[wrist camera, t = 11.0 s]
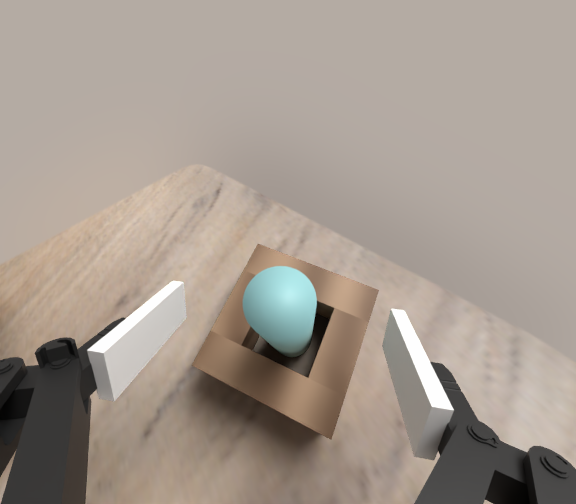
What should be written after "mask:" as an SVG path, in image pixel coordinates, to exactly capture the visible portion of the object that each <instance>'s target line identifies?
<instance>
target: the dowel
mask: <svg viewBox="0 0 576 504" xmlns="http://www.w3.org/2000/svg"><path fill="white" fill-rule="evenodd" d="M316 306H317V298H316V292H315V289H314V287H313V285H312V283H311V281H310V280H309V279H308V278H307V277H306V276H305V275H304V274H303V273H302V272H300V271H298V270H296V269H294V268H291V267H287V266H275V267H270V268H267V269H265V270H263V271H261V272H260V273H258V274H257V275H256V276H255V277H254V278H253V279H252V280H251V281H250V282H249V284H248V285H247V287H246V290H245V292H244V296H243V312H244V315H245V318H246V320H247V322H248V323H249V325H250V326H251V327H252V328H253V329H254V330H255V331H256V332H257V333H258V334H259V335H260V336H261V337H263V338H264V339H265V340H266V341H267V342H268V343H269V344H270V345H272V346H273V347H274V348H275V349H276V350H277V351H278V352H280V353H281V354H282V355H284V356H288V357H296V356H299V355H301V354H303V353H304V352H305V351H306V350H307V349H308V347H309V345H310V343H311V338H312V332H313V325H314V319H315V313H316Z"/></svg>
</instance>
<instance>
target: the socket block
mask: <svg viewBox="0 0 576 504" xmlns="http://www.w3.org/2000/svg"><path fill="white" fill-rule="evenodd" d="M275 266H287V267H291V268H294V269H296V270H298V271H300V272H302V273H303V274H304V275H305V276H306V277H307V278H308V279H309V280H310V281H311V283H312V285H313V287H314V289H315V292H316V298H317V306H316V313H317V314H319V315H321V316H324V317H326V318H329V319H330V320H329V323H328V325H327V328H326V331H325V333H324V336H323V339H322V341H321V344H320V347H319V349H318V352H317V355H316V357H315V360H314V363H313V365H312V368H311V370H310V373H309V376H308V378H307V377H305V376H303V375H301V374H299V373H297V372H295V371H293V370H291V369H289V368H287V367H285V366H283V365H281V364H279V363H277V362H275V361H273V360H271V359H269V358H266V357H264V356H262V355H260V354H258V353H256V352H254V351H252V350H253V348H254V346H255V344H256V342H257V339H258V337H259V334H258V333H257V332H256V331H255V330H254V329H253V328H252V327H251V326H250V325H249V323H248V322H247V320H246V318H245V315H244V312H243V296H244V292H245V290H246V287H247V285H248V284H249V282H250V281H251V280H252V279H253V278H254V277H255V276H256V275H257V274H258V273H260V272H261V271H263V270H265V269H267V268H270V267H275ZM378 291H379V290H377V289H375V288H372V287H369V286H367V285H364V284H362V283H359V282H356V281H354V280H351V279H349V278H346V277H343V276H341V275H338V274H335V273H333V272H330V271H328V270H325V269H322V268H320V267H317V266H315V265H312V264H309V263H307V262H304V261H302V260H299V259H296V258H294V257H291V256H289V255H286V254H283V253H281V252H278V251H276V250H273V249H270V248H268V247H265V246H263V245H260V244H258V245H257V246H256V248H255V250H254V252H253V254H252V256H251V257H250V259H249V261H248V263H247V265H246V267H245V268H244V270H243V272H242V274H241V276H240V278H239V279H238V281H237V283H236V285H235V287H234V289H233V291H232V292H231V294H230V296H229V298H228V300H227V302H226V303H225V305H224V307H223V309H222V311H221V313H220V314H219V316H218V318H217V320H216V322H215V324H214V325H213V327H212V329H211V331H210V333H209V335H208V336H207V338H206V340H205V342H204V344H203V346H202V347H201V349H200V351H199V353H198V355H197V357H196V358H195V360H194V362H193V364H192V366H194V367H196V368H198V369H200V370H202V371H204V372H205V373H207V374H209V375H211V376H213V377H215V378H217V379H218V380H220V381H222V382H224V383H226V384H228V385H230V386H232V387H233V388H235V389H237V390H239V391H241V392H243V393H245V394H247V395H248V396H250V397H252V398H254V399H256V400H258V401H260V402H262V403H263V404H265V405H267V406H269V407H271V408H273V409H275V410H277V411H278V412H280V413H282V414H284V415H286V416H288V417H290V418H292V419H293V420H295V421H297V422H299V423H301V424H303V425H305V426H307V427H308V428H310V429H312V430H314V431H316V432H318V433H320V434H322V435H323V436H325V437H327V438H329V439H332V436H333V433H334V429H335V426H336V423H337V420H338V417H339V414H340V411H341V407H342V404H343V401H344V398H345V395H346V392H347V389H348V385H349V382H350V379H351V376H352V373H353V370H354V367H355V363H356V360H357V357H358V354H359V351H360V348H361V345H362V341H363V338H364V335H365V332H366V329H367V326H368V323H369V319H370V316H371V313H372V310H373V307H374V304H375V301H376V297H377V294H378Z"/></svg>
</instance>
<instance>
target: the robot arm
mask: <svg viewBox="0 0 576 504" xmlns="http://www.w3.org/2000/svg"><path fill="white" fill-rule="evenodd" d="M186 318H187V317H186V304H185V292H184V282H179V281H172V282H170V283H169V284H168V285H167V286H165V287H164V288H163V289H162V290H160V291H159V292H158V293H157V294H156V295H154V296H153V297H152V298H151V299H149V300H148V301H147V302H146V303H144V304H143V305H142V306H141V307H140V308H138V309H137V310H136V311H135V312H133V313H132V314H131V315H130V316H129V317H127V318H121V319H119V320H116V321H114V322H112V323H111V324H110V325H108V326H107V327H106V328H105V329H104V330H102V331H101V332H99V333H98V334H97V335H96V336H94V337H93V338H92V339H90V340H89V341H88V342H87V343H85V344H84V345H83V346H81V347H80V348H79V349H78V350H77V347H76V343H75V340H74V339H72V338H59V339H55V340H52V341H49V342H47V343H45V344H43V345H42V346H41V347H39V348H38V349H37V351H36V352H35V355H36V358H37V361H38V364H39V365H35V366H25V364H24V361H23V359H22V358H18V357H15V358H8V359H3V360H0V477H1V475H2V473H3V471H4V470H5V468H6V466H7V464H8V463H9V461H10V459H11V458H12V456H13V454H14V452H15V451H16V454H15V457H14V460H13V464H12V467H11V471H10V474H9V478H8V481H7V485H6V488H5V491H4V495H3V498H2V502H1V504H85V499H86V482H87V465H88V448H89V431H90V414H91V399H90V395H91V394H92V393H93V392H94V391H95V390H96V389H97V392H98V396H99V399H104V400H109V401H115V400H116V399H117V398H118V397H119V396H120V395H121V393H122V392H123V391H124V390H125V389H126V388H127V386H128V385H129V384H130V383H131V382H132V381H133V379H134V378H135V377H136V376H137V375H138V374H139V372H140V371H141V370H142V369H143V368H144V367H145V366H146V364H147V363H148V362H149V361H150V360H151V359H152V357H153V356H154V355H155V354H156V353H157V352H158V350H159V349H160V348H161V347H162V346H163V345H164V343H165V342H166V341H167V340H168V339H169V338H170V337H171V335H172V334H173V333H174V332H175V331H176V330H177V328H178V327H179V326H180V325H181V324H182V323H183V321H184V320H185V319H186ZM382 347H383V350H384V354H385V357H386V361H387V364H388V367H389V371H390V374H391V378H392V381H393V385H394V388H395V392H396V395H397V399H398V402H399V406H400V409H401V412H402V416H403V419H404V423H405V426H406V430H407V433H408V437H409V440H410V444H411V447H412V451H413V454H414V457H419V458H425V459H430V460H434V459H435V457H436V454H437V452H438V451H439V454H440V458H439V460H438V461H437V463H436V465H435V467H434V469H433V471H432V472H431V474H430V476H429V478H428V480H427V482H426V483H425V485H424V487H423V489H422V491H421V493H420V494H419V496H418V498H417V500H416V502H415V503H414V504H483V503H484V500H487V501H489V502H491V503H493V504H576V469H575V468H574V467H573V466H572V465H571V464H570V463H569V462H568V461H567V460H565V459H564V458H563V457H562V456H560V455H559V454H557V453H555V452H554V451H552V450H550V449H547V448H544V447H542V446H533V447H531V448H530V449H529V451H528V452H524V451H522V450H520V449H517V448H515V447H513V446H510V445H508V444H506V443H504V442H502V441H500V440H499V437H498V436H497V435H496V434H495V432H494V431H493V430H492V429H491V428H489V427H488V426H487V425H485V424H484V423H482V422H480V421H478V419H477V417H476V415H475V414H474V412H473V410H472V408H471V407H470V405H469V403H468V401H467V400H466V398H465V396H464V394H463V393H462V392H461V389H460V387H459V386H458V384H456V380H455V379H454V377H453V375H452V373H451V372H450V371H449V370H448V369H447V368H446V367H445V366H444V365H443V364H440V363H434V362H430V361H429V359H428V357H427V355H426V353H425V351H424V349H423V347H422V345H421V343H420V341H419V339H418V337H417V335H416V333H415V331H414V329H413V327H412V325H411V323H410V321H409V319H408V317H407V315H406V313H405V311H404V310H398V309H391V311H390V315H389V319H388V323H387V328H386V332H385V336H384V340H383V345H382ZM16 449H17V450H16Z"/></svg>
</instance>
